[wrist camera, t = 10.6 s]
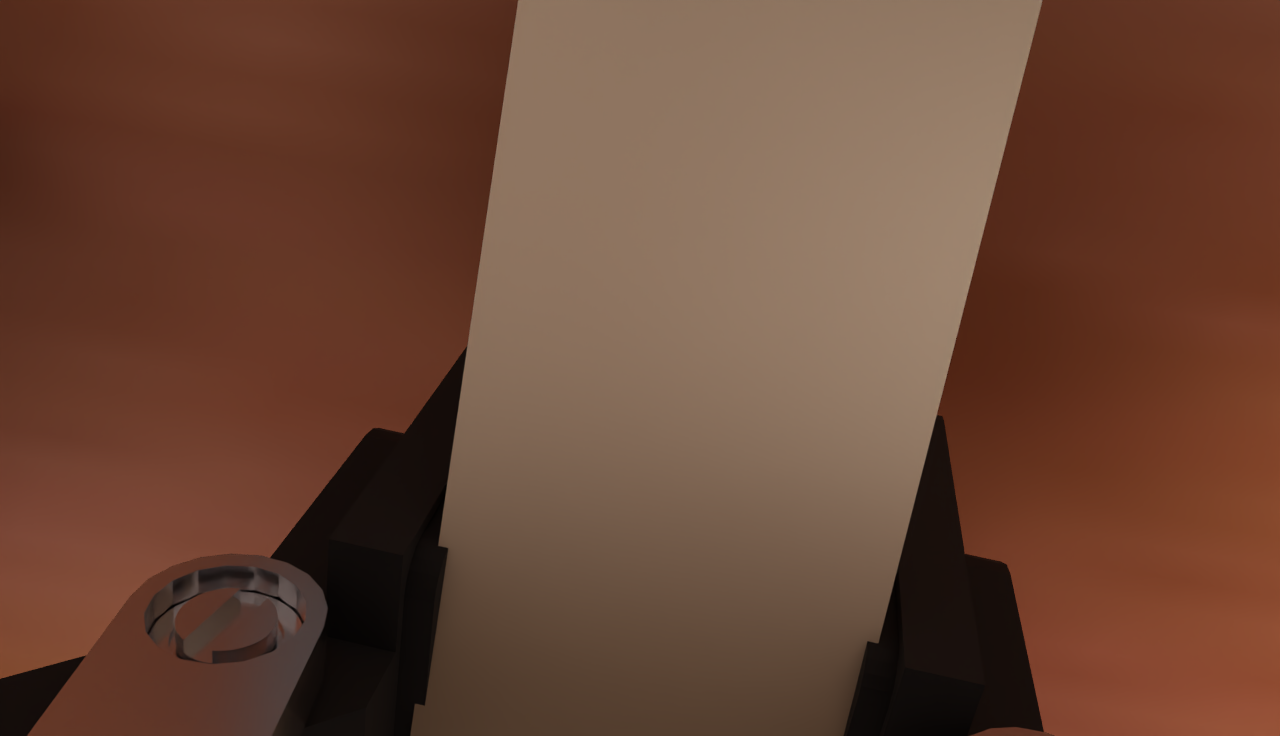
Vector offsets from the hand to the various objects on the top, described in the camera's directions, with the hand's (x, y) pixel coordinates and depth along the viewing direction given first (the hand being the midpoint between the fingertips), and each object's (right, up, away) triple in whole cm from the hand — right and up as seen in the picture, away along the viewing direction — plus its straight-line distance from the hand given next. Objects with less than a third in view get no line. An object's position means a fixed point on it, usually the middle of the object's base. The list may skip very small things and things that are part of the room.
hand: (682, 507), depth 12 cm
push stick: (0, 0, +1) cm, 1 cm away
